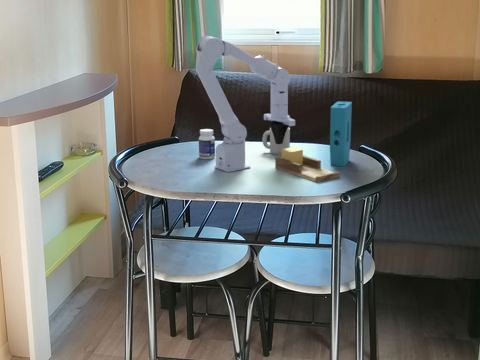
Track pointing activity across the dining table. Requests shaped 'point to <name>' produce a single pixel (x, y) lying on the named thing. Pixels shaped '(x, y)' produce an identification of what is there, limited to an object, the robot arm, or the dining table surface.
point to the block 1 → (292, 155)
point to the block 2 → (340, 133)
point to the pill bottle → (206, 144)
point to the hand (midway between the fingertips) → (279, 143)
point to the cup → (273, 146)
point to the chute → (306, 169)
